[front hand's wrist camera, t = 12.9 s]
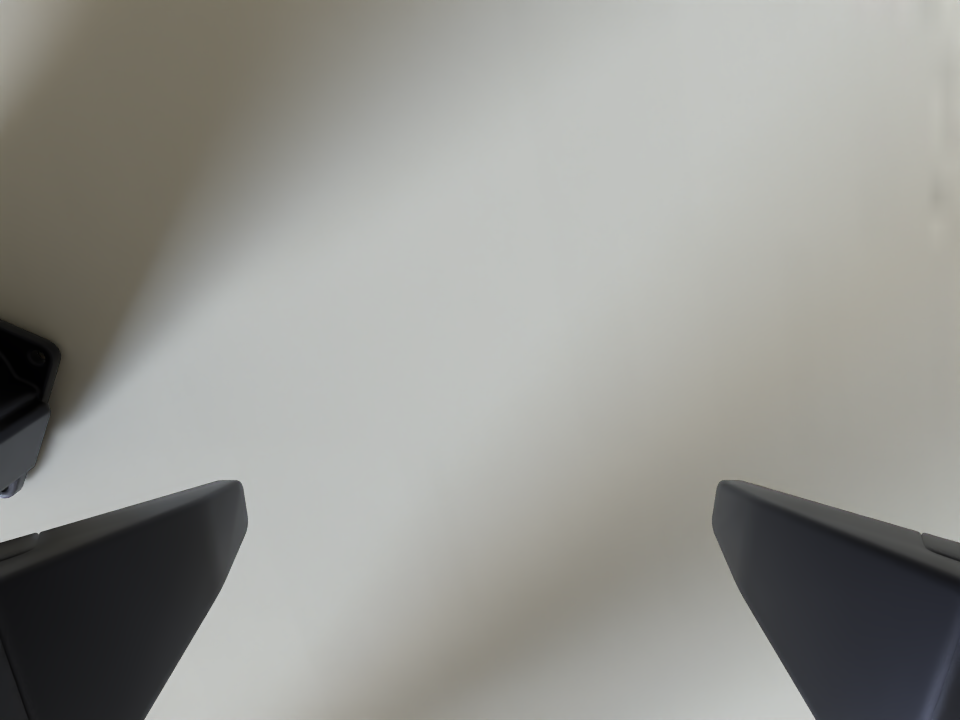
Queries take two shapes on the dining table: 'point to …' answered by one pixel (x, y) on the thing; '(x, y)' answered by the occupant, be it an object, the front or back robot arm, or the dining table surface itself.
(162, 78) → the dining table surface
